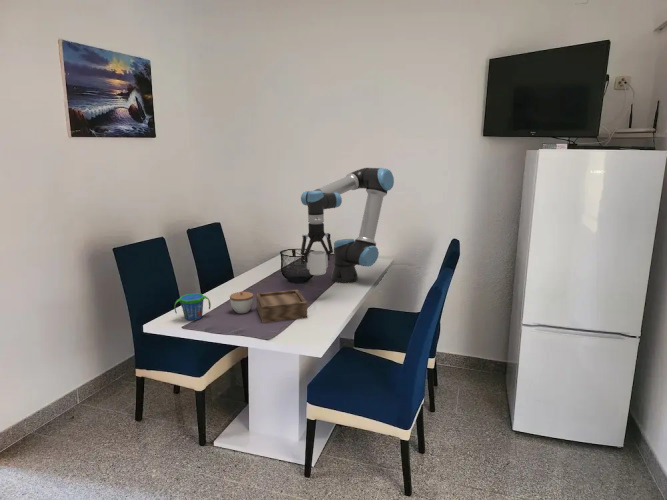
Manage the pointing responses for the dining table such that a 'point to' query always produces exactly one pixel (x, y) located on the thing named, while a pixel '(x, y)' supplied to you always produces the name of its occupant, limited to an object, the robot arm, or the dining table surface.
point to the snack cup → (192, 305)
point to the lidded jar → (241, 301)
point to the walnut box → (281, 306)
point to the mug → (317, 262)
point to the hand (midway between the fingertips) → (317, 267)
